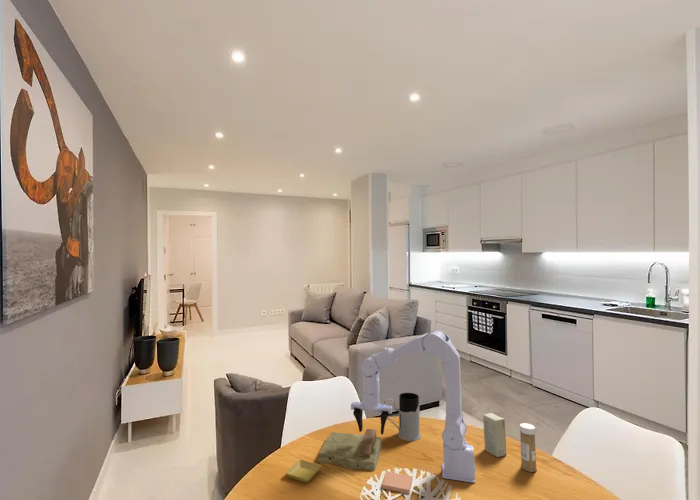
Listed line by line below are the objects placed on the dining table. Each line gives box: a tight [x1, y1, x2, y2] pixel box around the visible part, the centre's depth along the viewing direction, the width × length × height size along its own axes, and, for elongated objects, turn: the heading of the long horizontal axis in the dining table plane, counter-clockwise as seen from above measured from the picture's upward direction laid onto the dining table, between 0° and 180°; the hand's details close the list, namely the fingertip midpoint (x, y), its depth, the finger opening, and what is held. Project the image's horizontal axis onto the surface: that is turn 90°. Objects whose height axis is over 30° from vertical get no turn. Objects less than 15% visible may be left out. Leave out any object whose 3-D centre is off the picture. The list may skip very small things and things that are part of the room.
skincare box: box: [482, 412, 507, 458], centre depth 121 cm, size 6×4×12 cm
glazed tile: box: [381, 471, 414, 495], centre depth 102 cm, size 8×2×7 cm
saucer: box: [284, 459, 323, 484], centre depth 107 cm, size 9×9×2 cm
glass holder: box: [383, 392, 422, 442], centre depth 133 cm, size 9×14×15 cm, turn 88°
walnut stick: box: [359, 428, 377, 457], centre depth 118 cm, size 4×12×4 cm, turn 165°
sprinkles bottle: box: [519, 422, 538, 473], centre depth 111 cm, size 5×5×13 cm
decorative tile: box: [317, 431, 383, 472], centre depth 120 cm, size 19×20×4 cm
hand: (371, 431), depth 120 cm, fingers open, 7 cm apart
